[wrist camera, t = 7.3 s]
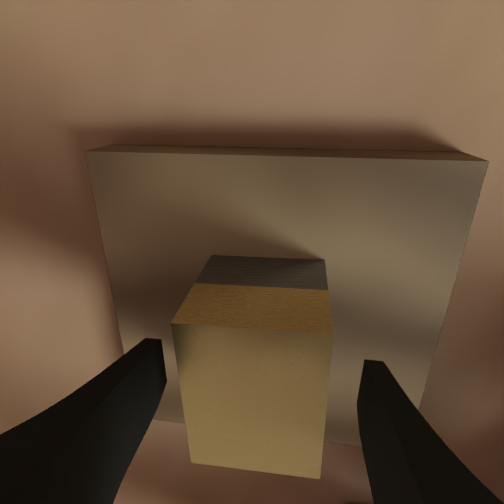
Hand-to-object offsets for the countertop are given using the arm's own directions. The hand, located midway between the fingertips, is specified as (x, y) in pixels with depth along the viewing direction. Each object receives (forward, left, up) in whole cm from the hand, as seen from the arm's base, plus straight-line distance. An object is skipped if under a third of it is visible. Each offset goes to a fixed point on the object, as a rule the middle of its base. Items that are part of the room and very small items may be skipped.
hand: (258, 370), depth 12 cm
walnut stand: (0, 0, -5) cm, 5 cm away
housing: (0, 0, -3) cm, 3 cm away
